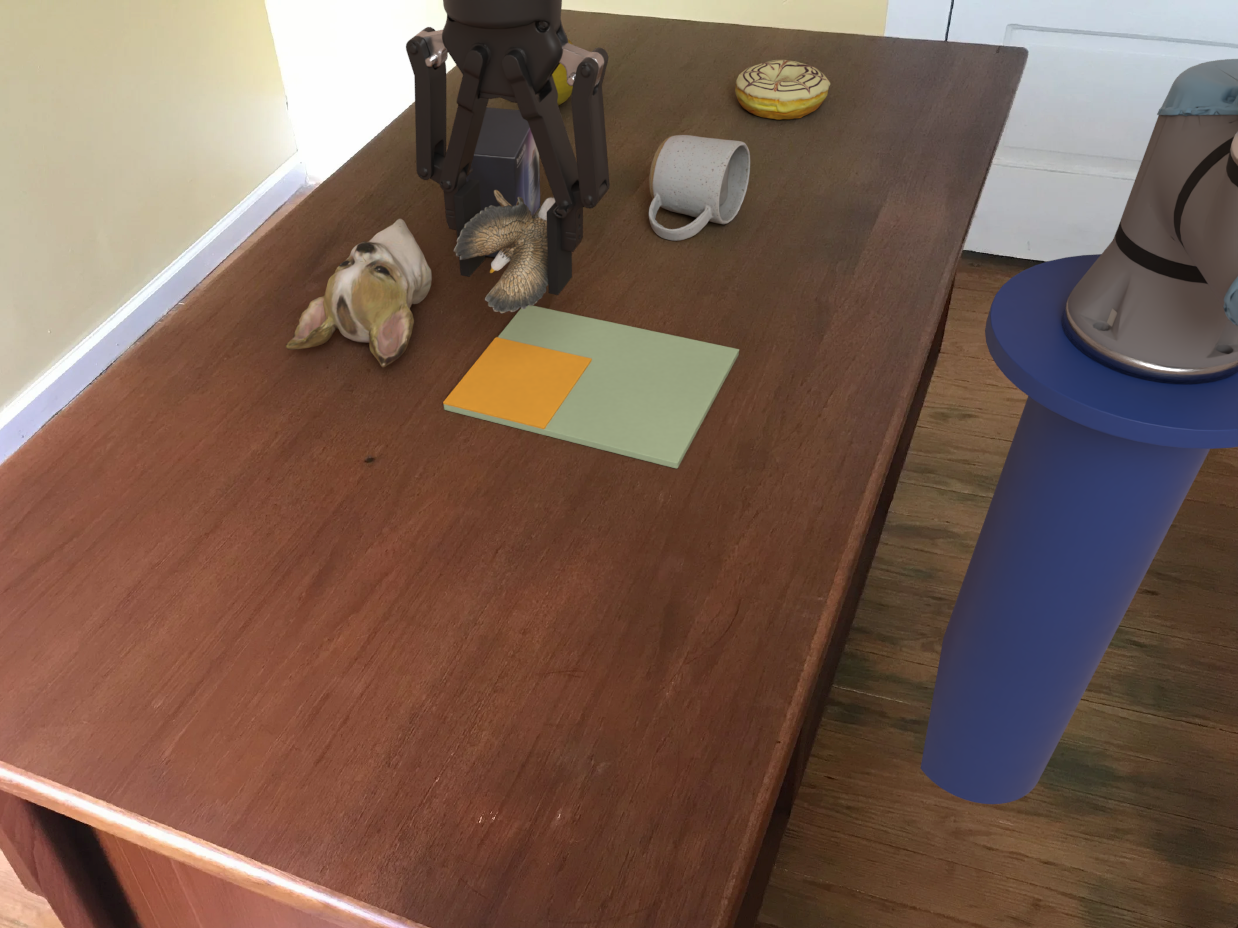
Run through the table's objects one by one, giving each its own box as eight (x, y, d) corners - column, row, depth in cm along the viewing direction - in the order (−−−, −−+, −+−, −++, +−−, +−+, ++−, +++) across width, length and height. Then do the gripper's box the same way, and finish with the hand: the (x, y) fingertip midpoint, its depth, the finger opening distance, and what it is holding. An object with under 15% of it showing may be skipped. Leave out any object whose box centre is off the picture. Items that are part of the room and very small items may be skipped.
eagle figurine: (468, 230, 87) (431, 270, 80) (516, 156, 82) (481, 191, 75) (545, 289, 88) (515, 333, 81) (597, 219, 83) (570, 259, 76)
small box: (521, 261, 106) (517, 157, 99) (456, 256, 107) (447, 153, 100) (544, 208, 113) (541, 108, 106) (483, 204, 115) (476, 104, 107)
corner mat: (738, 355, 93) (739, 347, 93) (677, 469, 83) (677, 461, 83) (524, 309, 100) (524, 301, 100) (443, 410, 90) (443, 402, 89)
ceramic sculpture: (453, 209, 96) (379, 309, 87) (464, 293, 102) (396, 394, 93) (345, 194, 99) (262, 289, 90) (362, 277, 105) (287, 373, 96)
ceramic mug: (674, 187, 115) (678, 115, 110) (748, 203, 112) (755, 130, 106) (628, 234, 109) (630, 160, 103) (704, 253, 106) (710, 178, 100)
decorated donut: (832, 90, 130) (837, 58, 128) (818, 128, 123) (824, 95, 121) (744, 82, 133) (748, 50, 130) (726, 119, 126) (729, 86, 123)
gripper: (331, -52, 68) (379, 277, 84) (629, -22, 62) (619, 327, 78) (390, -87, 73) (425, 231, 89) (672, -63, 66) (655, 275, 82)
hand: (515, 275), depth 83 cm, fingers closed on eagle figurine, 7 cm apart
